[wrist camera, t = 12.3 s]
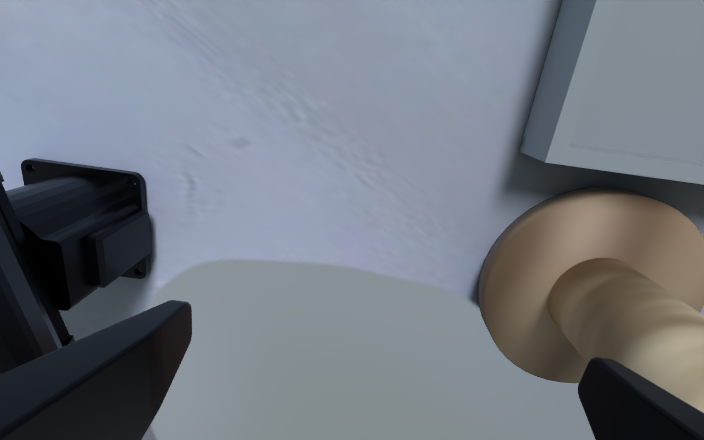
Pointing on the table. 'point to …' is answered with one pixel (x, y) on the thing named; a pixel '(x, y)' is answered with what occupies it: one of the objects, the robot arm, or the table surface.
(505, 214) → the table surface
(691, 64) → the grey tray
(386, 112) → the table surface
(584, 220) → the tan wooden disc
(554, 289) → the oak canister
